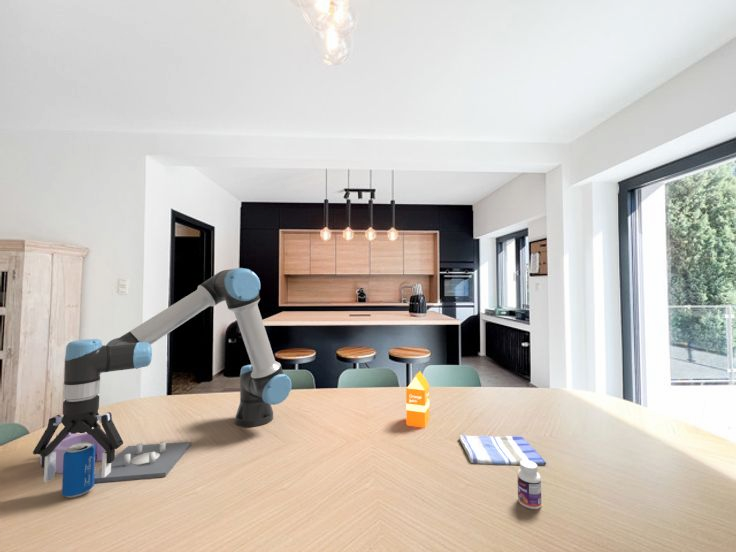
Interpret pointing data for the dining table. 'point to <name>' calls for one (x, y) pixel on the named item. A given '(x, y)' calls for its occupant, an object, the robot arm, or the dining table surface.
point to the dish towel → (499, 450)
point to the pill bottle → (529, 485)
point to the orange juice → (417, 401)
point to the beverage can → (78, 469)
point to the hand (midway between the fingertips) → (78, 477)
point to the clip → (69, 441)
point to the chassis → (144, 461)
